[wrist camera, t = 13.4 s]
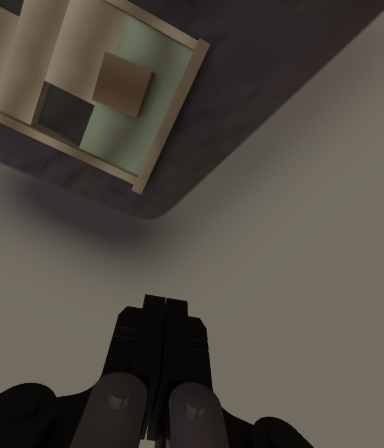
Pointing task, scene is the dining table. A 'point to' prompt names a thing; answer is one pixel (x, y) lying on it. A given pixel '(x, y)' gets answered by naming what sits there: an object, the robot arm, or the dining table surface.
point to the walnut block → (122, 85)
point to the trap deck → (92, 79)
